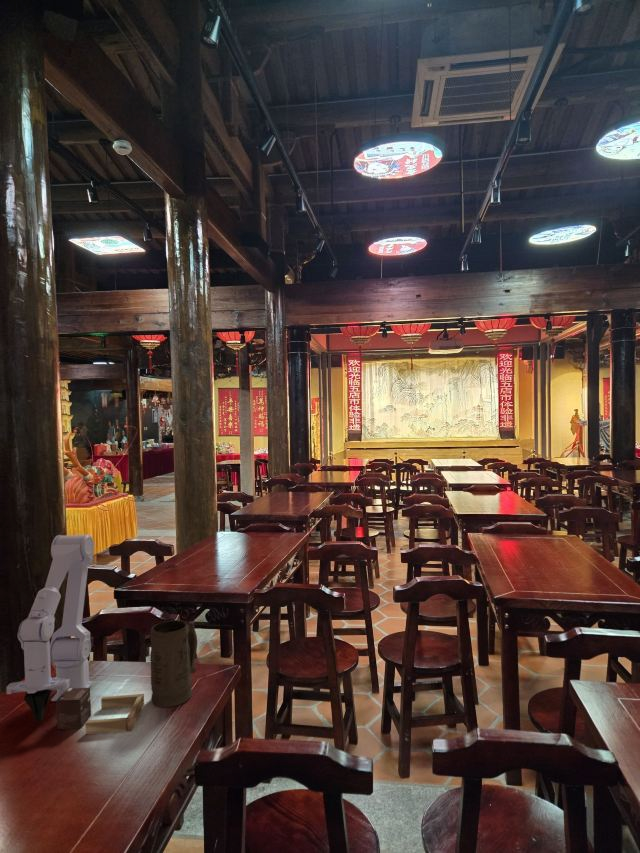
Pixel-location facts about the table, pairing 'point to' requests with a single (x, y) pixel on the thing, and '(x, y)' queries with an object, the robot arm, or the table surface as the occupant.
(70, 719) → the box
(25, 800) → the table surface
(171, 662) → the beer stein
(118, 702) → the slot rails
